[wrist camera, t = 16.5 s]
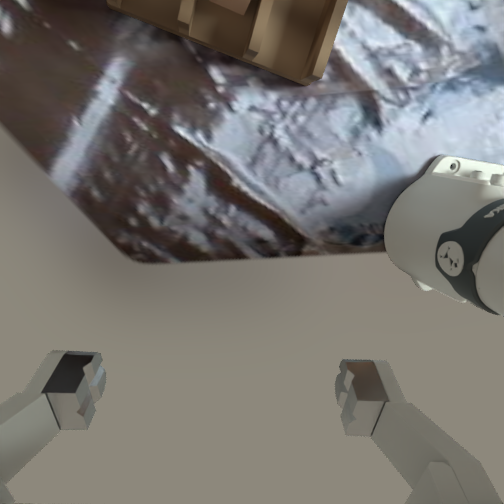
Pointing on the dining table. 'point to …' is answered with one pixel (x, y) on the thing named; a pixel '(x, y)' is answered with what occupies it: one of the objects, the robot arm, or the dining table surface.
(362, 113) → the dining table surface
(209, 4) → the drying rack
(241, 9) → the beige rectangular block
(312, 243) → the dining table surface
